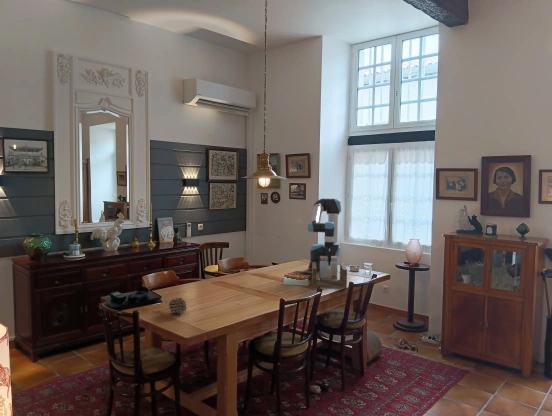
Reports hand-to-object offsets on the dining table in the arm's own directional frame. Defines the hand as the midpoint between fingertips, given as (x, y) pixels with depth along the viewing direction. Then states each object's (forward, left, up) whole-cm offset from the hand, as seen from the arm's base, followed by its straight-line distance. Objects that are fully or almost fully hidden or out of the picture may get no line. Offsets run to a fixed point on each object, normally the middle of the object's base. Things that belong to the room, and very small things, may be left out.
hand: (328, 267), depth 345 cm
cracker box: (0, 0, -12) cm, 12 cm away
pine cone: (+86, -100, -12) cm, 132 cm away
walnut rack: (+3, 0, -12) cm, 12 cm away
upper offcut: (+6, 0, -10) cm, 12 cm away
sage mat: (+1, -26, -12) cm, 29 cm away
